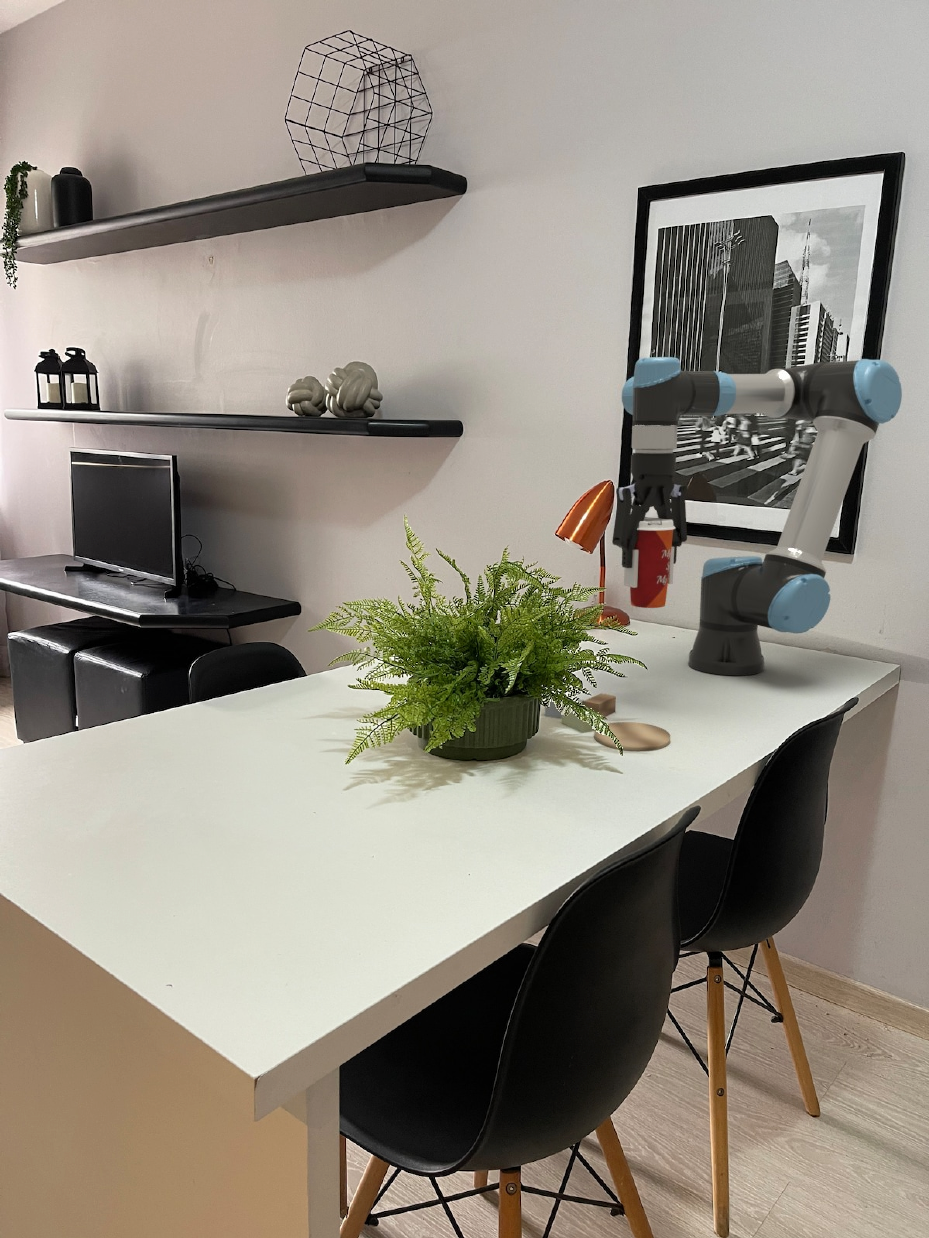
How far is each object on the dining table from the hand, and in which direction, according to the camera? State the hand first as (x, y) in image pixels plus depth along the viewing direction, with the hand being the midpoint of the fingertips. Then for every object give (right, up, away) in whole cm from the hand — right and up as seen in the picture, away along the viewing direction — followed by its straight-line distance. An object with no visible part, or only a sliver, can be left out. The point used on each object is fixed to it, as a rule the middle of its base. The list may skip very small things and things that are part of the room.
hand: (648, 584), depth 165 cm
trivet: (-5, -25, -14) cm, 29 cm away
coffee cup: (0, -4, +1) cm, 4 cm away
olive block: (-13, -24, -8) cm, 29 cm away
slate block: (-15, -23, -2) cm, 28 cm away
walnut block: (-9, -23, -1) cm, 24 cm away
